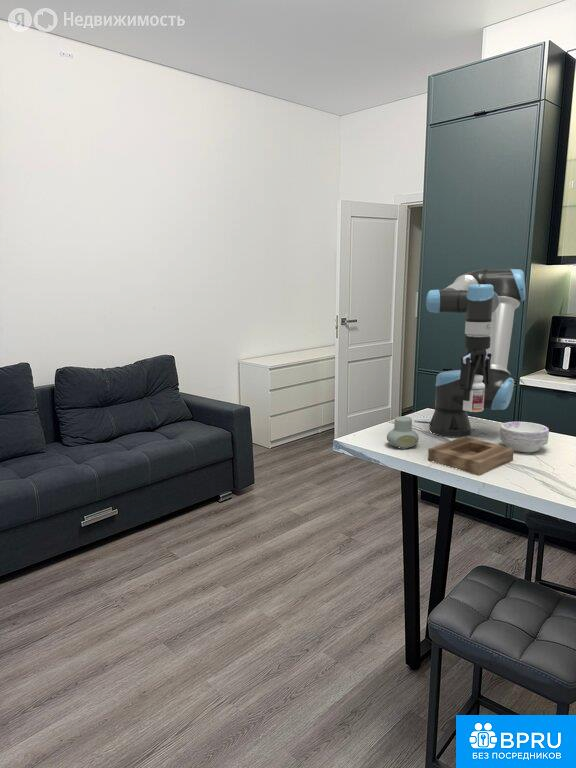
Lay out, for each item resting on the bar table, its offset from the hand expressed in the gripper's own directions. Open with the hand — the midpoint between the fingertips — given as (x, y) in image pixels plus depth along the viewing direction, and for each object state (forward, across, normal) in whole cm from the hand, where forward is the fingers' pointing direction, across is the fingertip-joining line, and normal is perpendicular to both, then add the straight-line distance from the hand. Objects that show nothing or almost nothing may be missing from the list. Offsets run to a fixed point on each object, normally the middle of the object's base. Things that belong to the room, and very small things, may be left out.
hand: (473, 408), depth 172 cm
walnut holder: (+17, 0, 0) cm, 17 cm away
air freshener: (+17, -4, +24) cm, 30 cm away
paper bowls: (+17, +24, -5) cm, 30 cm away
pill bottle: (+1, 0, 0) cm, 1 cm away
